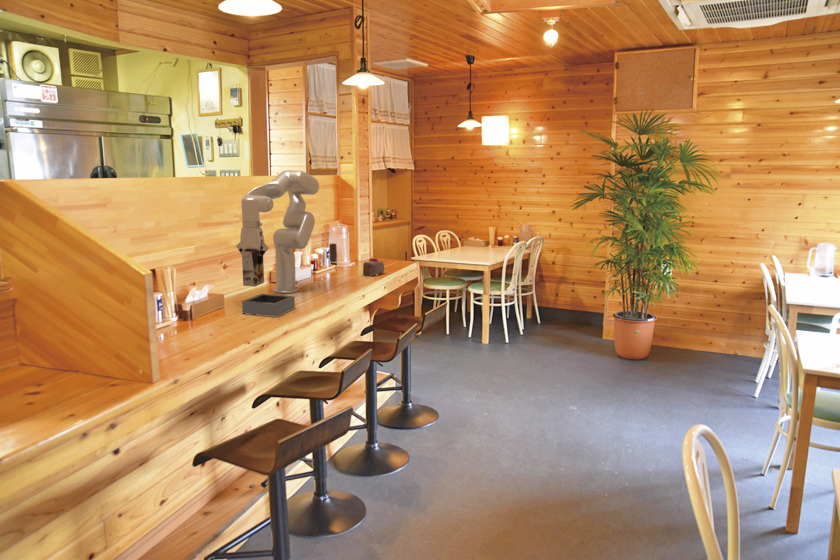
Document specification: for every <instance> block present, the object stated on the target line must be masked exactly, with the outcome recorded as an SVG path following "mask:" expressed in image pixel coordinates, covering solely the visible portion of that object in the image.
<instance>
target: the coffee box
mask: <svg viewBox="0 0 840 560" xmlns="http://www.w3.org/2000/svg"><path fill="white" fill-rule="evenodd" d="M262 251H263V249H262ZM258 256H259V255H258V253H257V251H256V250H244V251H242V254H241V262H242V263H241V265H242V267H241V269H242V286H243V287H257V286H259V285H262V284H264V283H265V271H264V269H265V266H264V263H263V264H261V265H258V258H257V257H258Z"/></svg>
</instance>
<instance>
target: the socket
mask: <svg viewBox="0 0 840 560" xmlns="http://www.w3.org/2000/svg"><path fill="white" fill-rule="evenodd" d="M295 297H296V296H293V295H292V296H291V295H284V294H283V295H282V294H281V295H279V294H270V293H269V294H268V293H260V294H257V295H255V296H252V297H250V298H247V299H245V300H242V301H241V310H242V311H241V312H242V313H245V314H244V315H250V314H256V315H255V316H260V315H263V317H273V318H278V317H280V316H282V315H285V314H286V313H288V312H290V311H292V310H295V308H296V305H295V304H296V302H295V301H296V300H295V299H296V298H295ZM242 313H241V314H242Z"/></svg>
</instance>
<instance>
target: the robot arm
mask: <svg viewBox="0 0 840 560" xmlns="http://www.w3.org/2000/svg"><path fill="white" fill-rule="evenodd" d="M319 190H320V183H319V181H318V179H317V178H316V177H314V176H312V175H311V174H309V173H307V172H305V171H303V170H290V169H287V170H283V171H281V172H280V173H279V174H278V175H277V176H275V177H274V178H273V179H272V180H271V181H269V182H267V183H264V184H262V185H259V186H256V187H254V188H252V189H250V190H249V191H248V192H247V193H246V194H245V195H244V196H243V198H242V199H241V200H240V201H241V222H242V227H241V228H240V237H239V239H240V240H239V242H238V244H236V245H235V247H236V249H237V250H238V251H239V252H240V254H241V255H242V251H244V250H256V251H257V253H258V255H259V256H258V257H257V258H258V265H261V264H264V255H265V253H267V251H268V250H269V246H268V245H267V244H266V243H265V237H264V231H263V228H262V226H263V223H262V222H261V221H260V213H268V212H271V211H272V209H273V208H274V200H275V199H280V198H281V197H283V196H284V195H285V194H286V193H288V197H289V203H288V207H287V209H286V211H285V213H284V216H283V219H282V224H283V226H284V228H278V229H276V230H275V231H274V232H273V236H272V240H273V245H274V249H275V250H274V251H275V252H274V253H275V283H276V286H275V287H273V288H272V289H273V292H274V293H276V294H293V293H297V292H299V290H300V288H299V287H297V286H296V285H297V284H299V281H298V280H297V278H296V255H295V252H294V250H293V249H296V250H302V249H305V248H306V247H307V246H308V244H309V242H310V239H311V236H312V233H313V231H314V228H315V227H314V226H315V222H316V221H315V216H314V214H313V213H312V212H310V211H306V207H307V205H306V201H305V199H304V198H303V196H302V195H308V196H309V195H311V196H313V195H315V194H317V193H318V191H319ZM262 249H263V251H262Z"/></svg>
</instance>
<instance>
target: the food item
mask: <svg viewBox="0 0 840 560" xmlns="http://www.w3.org/2000/svg"><path fill="white" fill-rule="evenodd" d="M362 265H363V267H362V276H363V275H366V276H365V277H369V276H371V277H374V276H376V274H379V275H381V274H383V273H384V271H385V263H384V262H383V261H382V260H380V259H378V258H369V260H368V261H364V262H363V264H362ZM380 273H381V274H380ZM373 275H374V276H373Z"/></svg>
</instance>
